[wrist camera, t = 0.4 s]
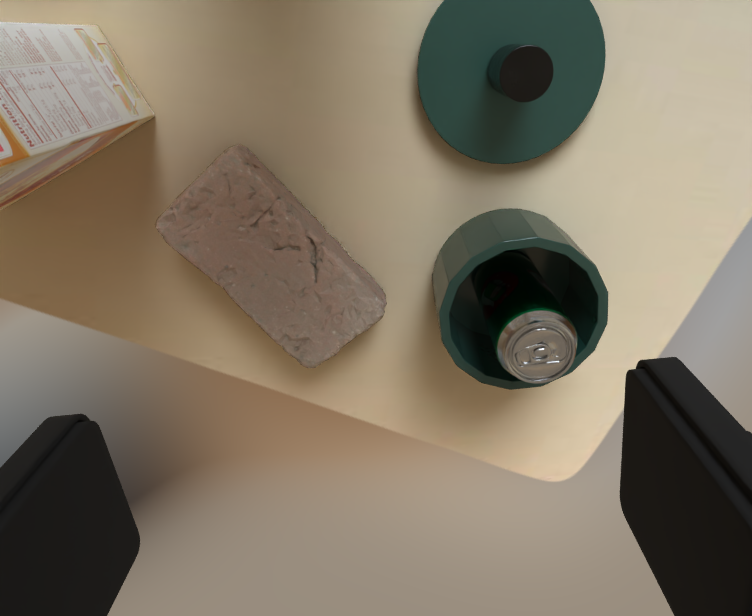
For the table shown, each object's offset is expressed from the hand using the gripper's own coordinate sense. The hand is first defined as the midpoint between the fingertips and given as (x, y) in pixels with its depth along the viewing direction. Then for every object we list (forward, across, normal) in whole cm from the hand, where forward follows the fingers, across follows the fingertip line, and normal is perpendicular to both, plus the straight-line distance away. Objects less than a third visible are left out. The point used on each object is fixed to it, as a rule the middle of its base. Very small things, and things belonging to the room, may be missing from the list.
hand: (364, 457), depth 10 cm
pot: (+36, -8, +11) cm, 38 cm away
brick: (+36, +9, +7) cm, 38 cm away
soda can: (+36, -8, +11) cm, 38 cm away
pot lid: (+35, -9, -4) cm, 36 cm away
